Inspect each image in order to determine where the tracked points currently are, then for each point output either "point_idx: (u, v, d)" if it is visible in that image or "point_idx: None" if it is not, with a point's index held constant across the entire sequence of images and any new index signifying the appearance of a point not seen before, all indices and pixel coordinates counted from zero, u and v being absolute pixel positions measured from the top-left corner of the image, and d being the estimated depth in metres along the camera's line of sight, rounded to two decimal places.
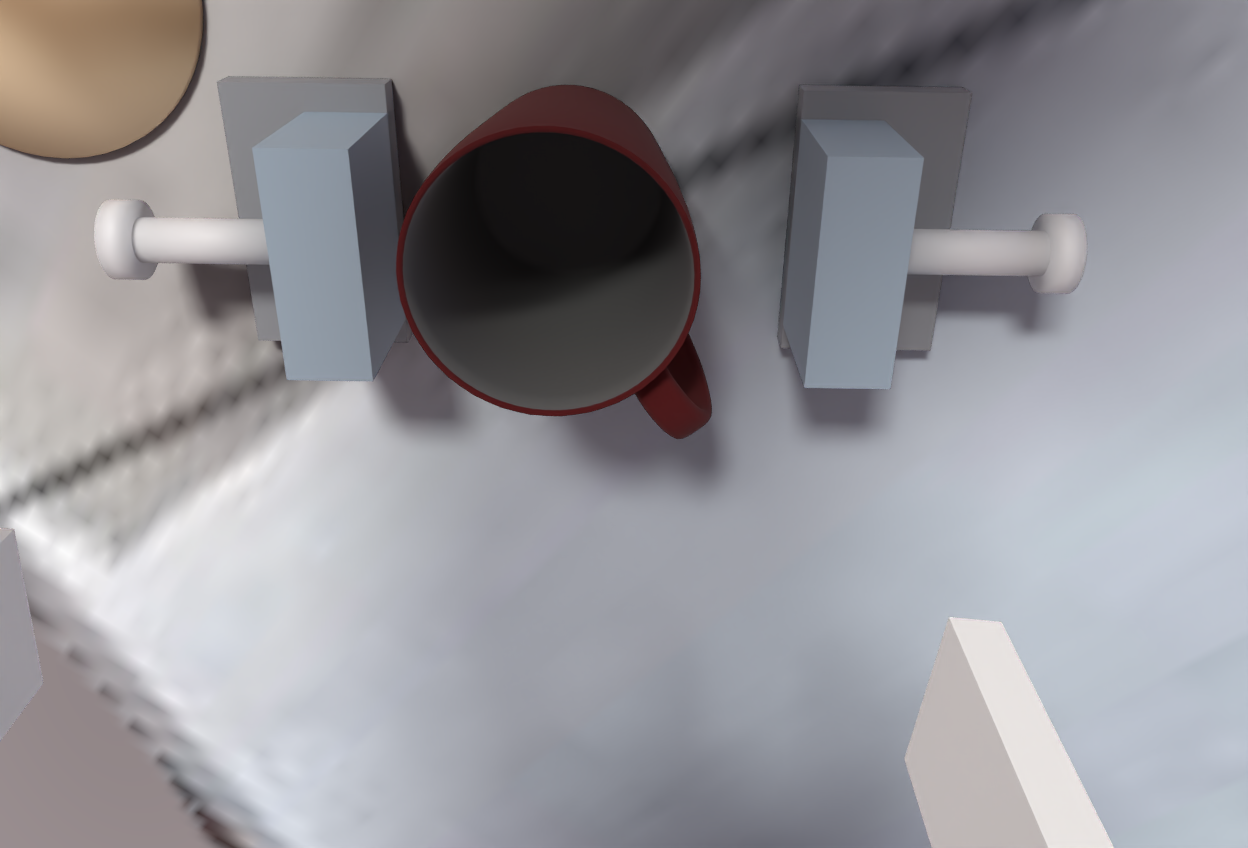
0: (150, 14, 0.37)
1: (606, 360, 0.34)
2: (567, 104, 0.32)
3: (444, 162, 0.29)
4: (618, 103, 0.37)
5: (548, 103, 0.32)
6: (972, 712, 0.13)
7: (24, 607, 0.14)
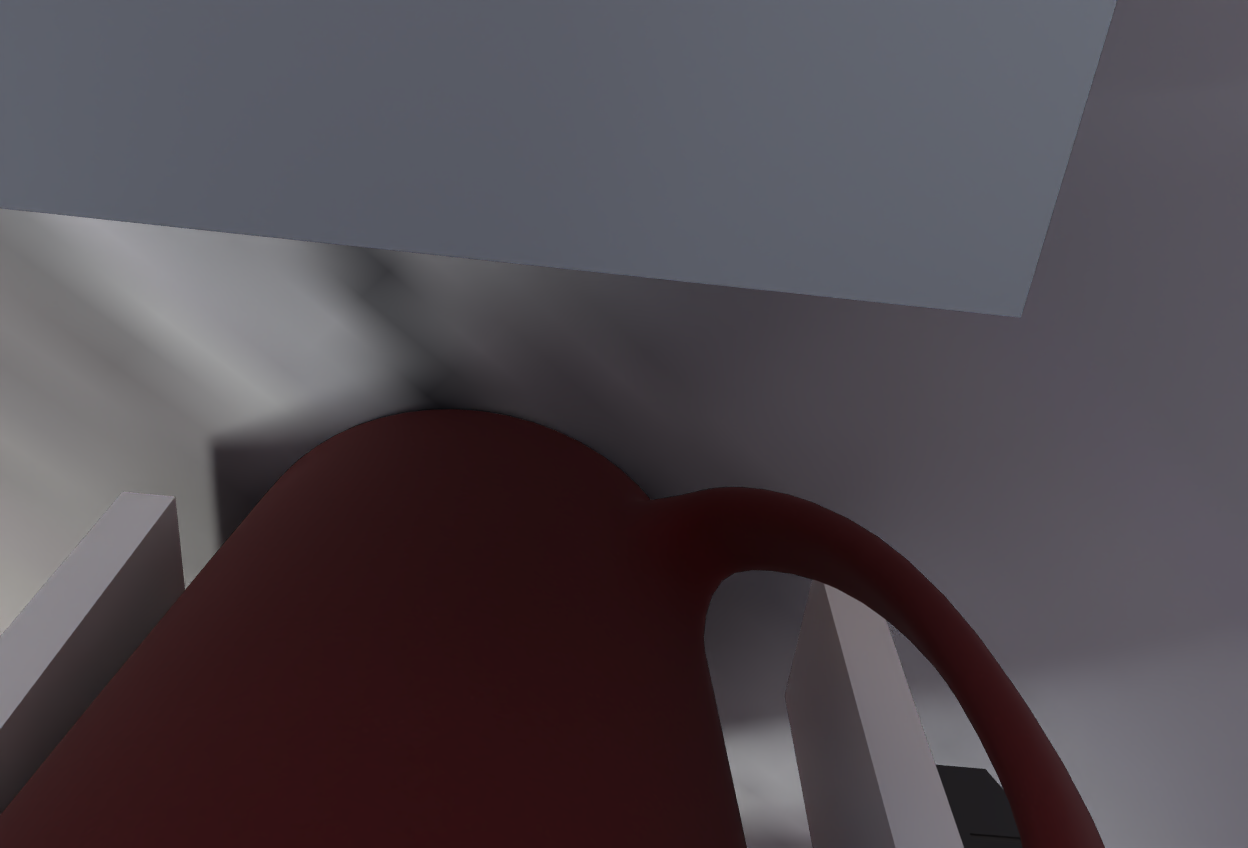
0: None
1: None
2: None
3: None
4: None
5: None
6: (828, 642, 0.14)
7: (179, 570, 0.16)
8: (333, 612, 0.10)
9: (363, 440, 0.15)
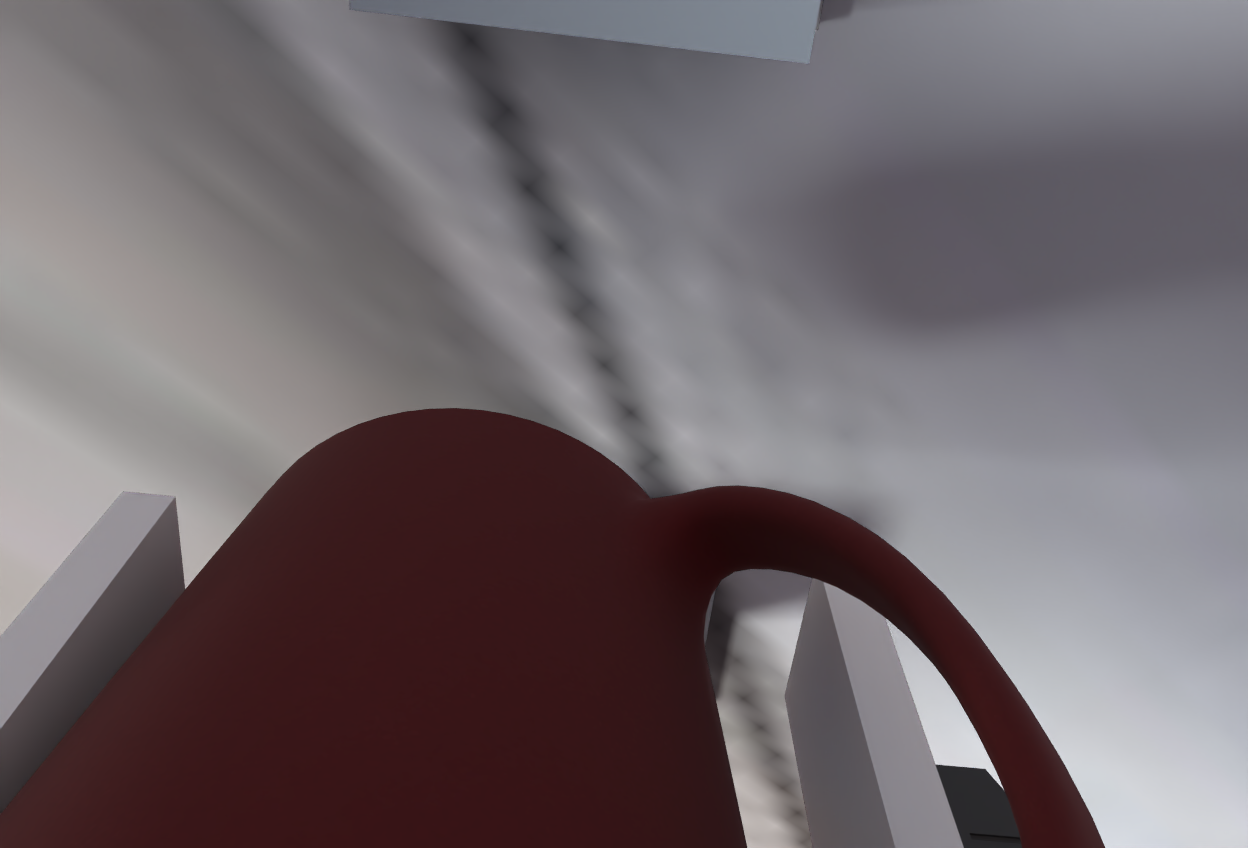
0: None
1: None
2: None
3: None
4: None
5: None
6: (828, 642, 0.14)
7: (179, 570, 0.16)
8: (334, 609, 0.10)
9: (363, 439, 0.15)
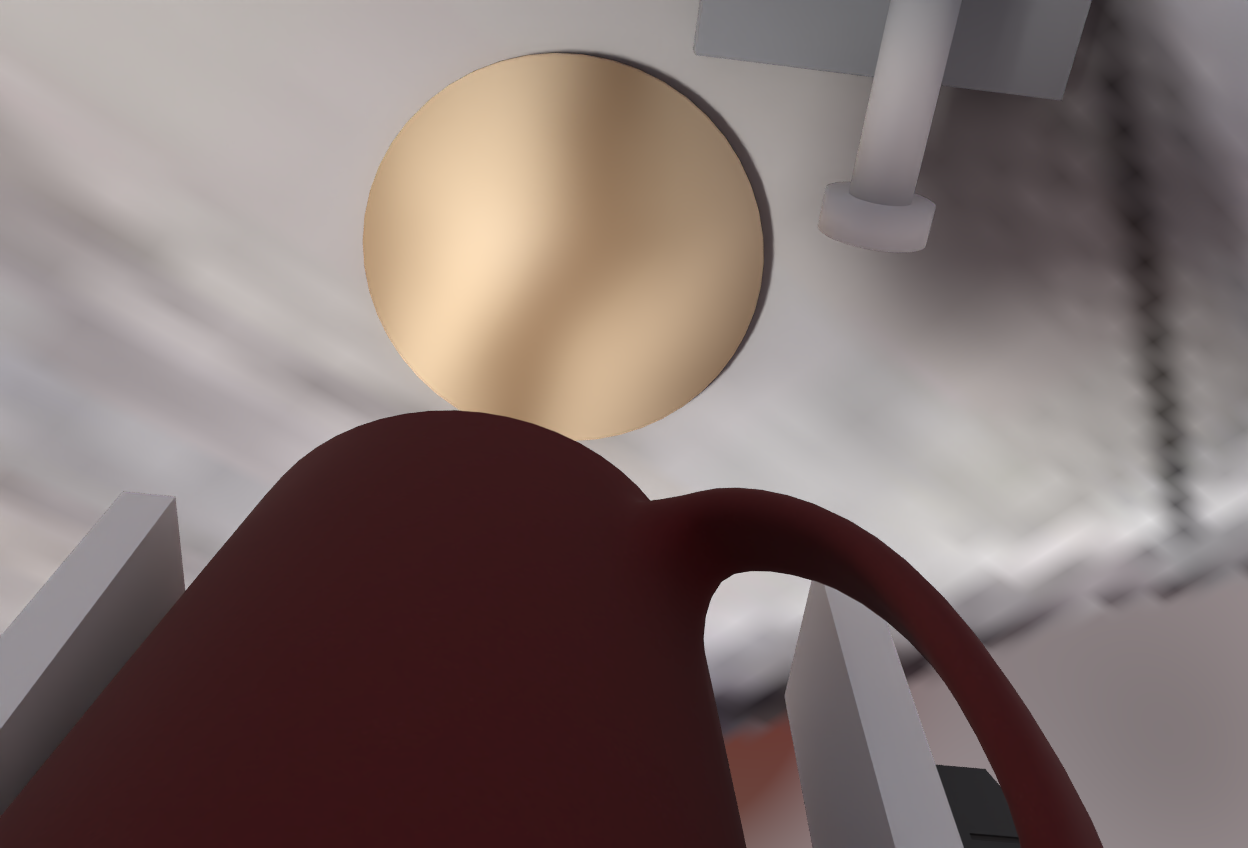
0: (606, 126, 0.29)
1: None
2: None
3: None
4: None
5: None
6: (828, 642, 0.14)
7: (180, 570, 0.16)
8: (332, 612, 0.10)
9: (362, 441, 0.15)
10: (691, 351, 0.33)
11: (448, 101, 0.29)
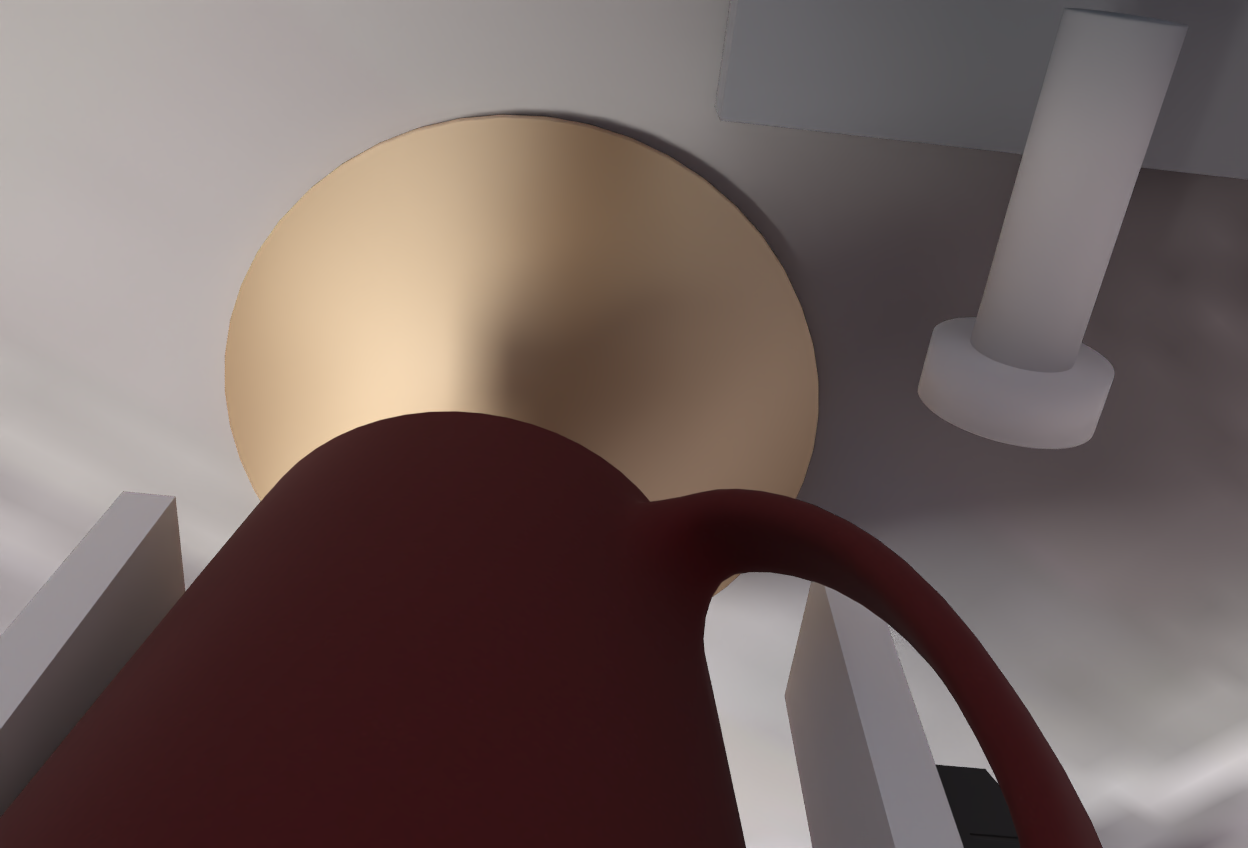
0: (583, 223, 0.19)
1: None
2: None
3: None
4: None
5: None
6: (828, 642, 0.14)
7: (180, 570, 0.16)
8: (331, 615, 0.10)
9: (362, 442, 0.15)
10: None
11: (340, 190, 0.19)
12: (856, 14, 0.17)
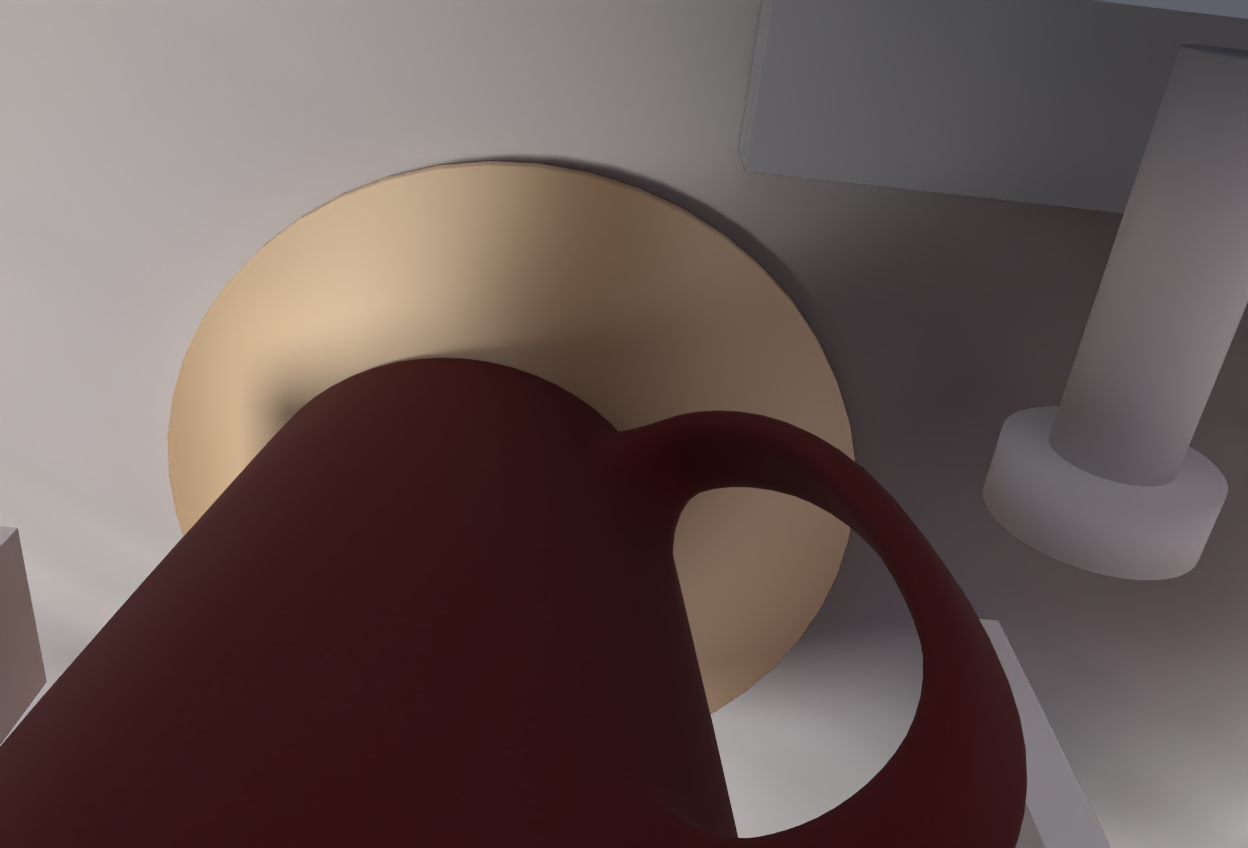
0: (583, 287, 0.16)
1: None
2: None
3: None
4: None
5: None
6: None
7: (27, 606, 0.15)
8: (334, 510, 0.12)
9: (357, 386, 0.16)
10: (730, 634, 0.20)
11: (298, 248, 0.16)
12: (911, 47, 0.14)
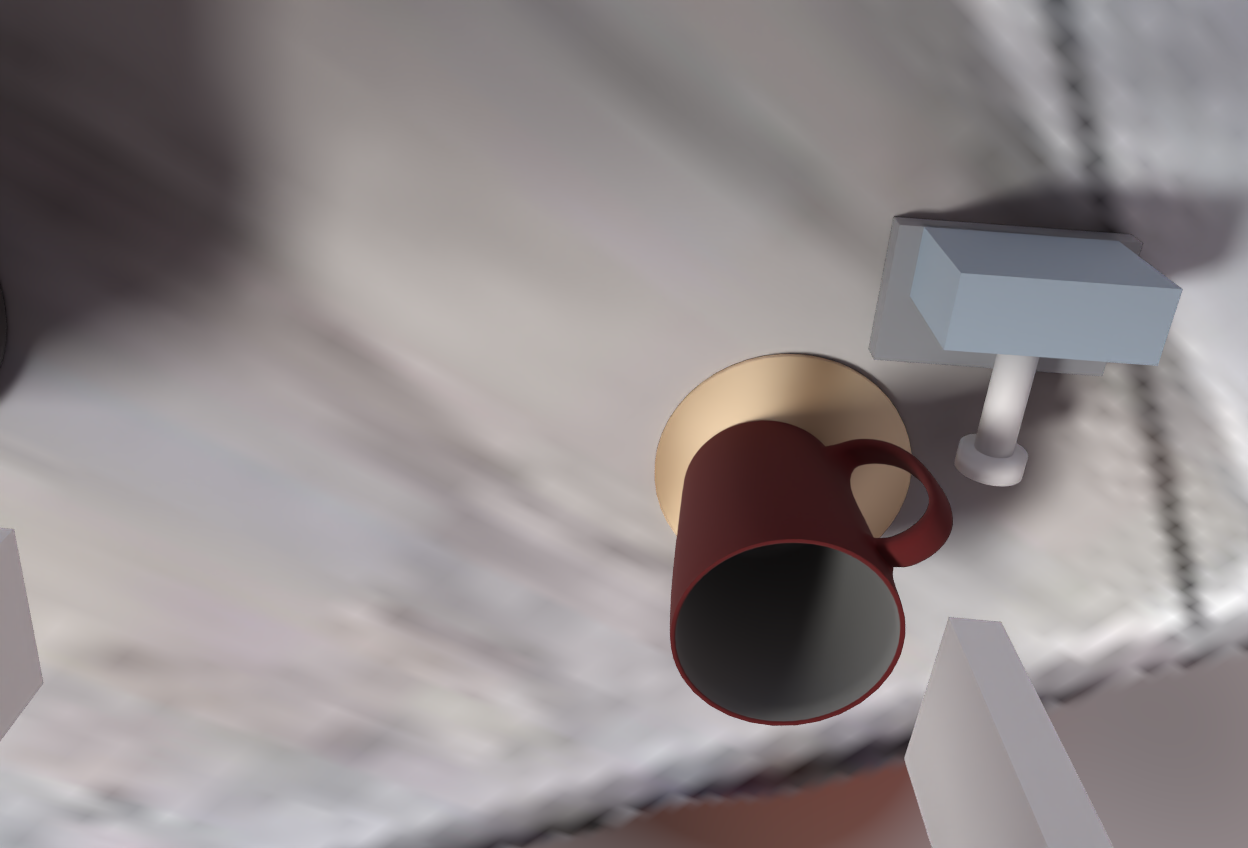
0: (814, 395, 0.47)
1: None
2: None
3: (694, 691, 0.41)
4: (693, 471, 0.47)
5: None
6: (972, 712, 0.13)
7: (23, 607, 0.14)
8: (766, 471, 0.42)
9: (737, 431, 0.47)
10: None
11: (715, 385, 0.47)
12: None
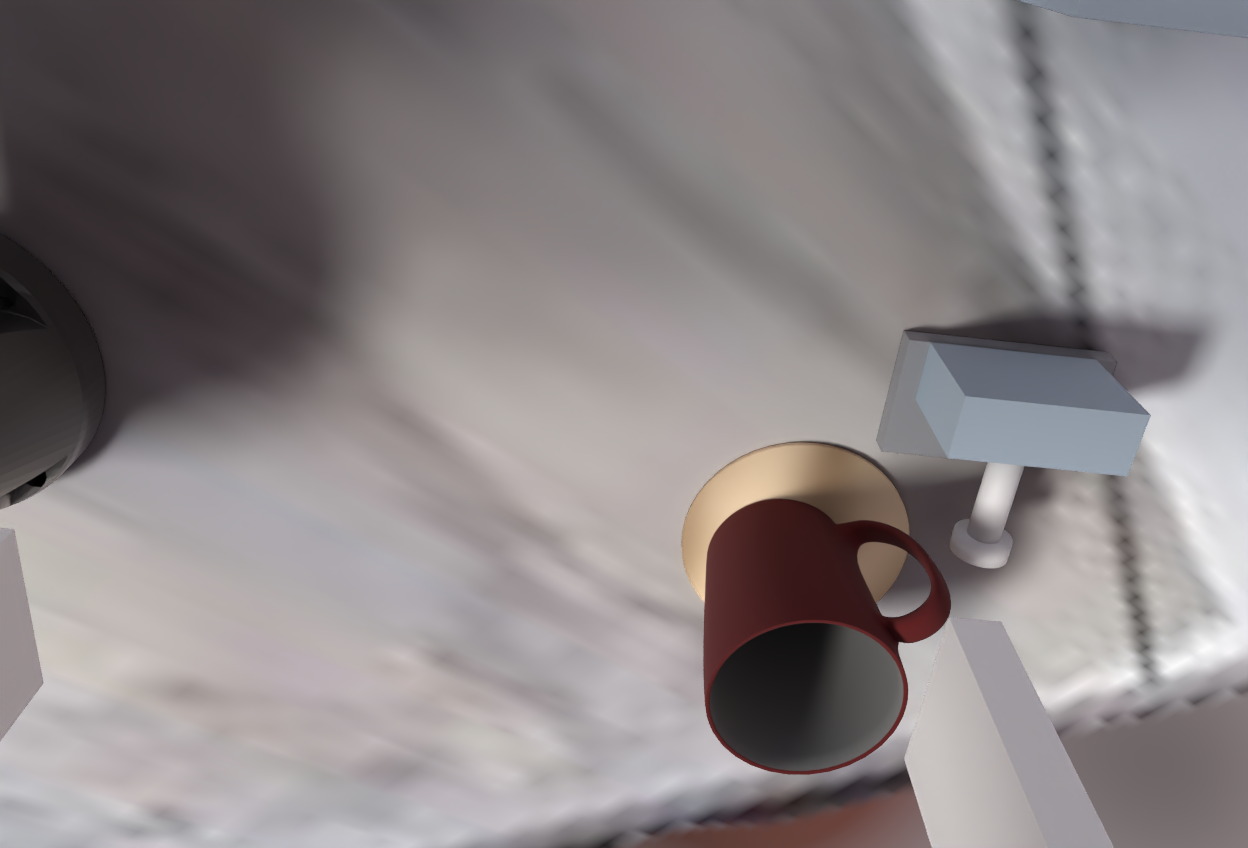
0: (826, 478, 0.53)
1: None
2: (705, 630, 0.49)
3: (723, 744, 0.47)
4: (718, 543, 0.53)
5: None
6: (972, 712, 0.13)
7: (24, 607, 0.14)
8: (788, 551, 0.49)
9: (758, 509, 0.53)
10: None
11: (740, 467, 0.53)
12: None
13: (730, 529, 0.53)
